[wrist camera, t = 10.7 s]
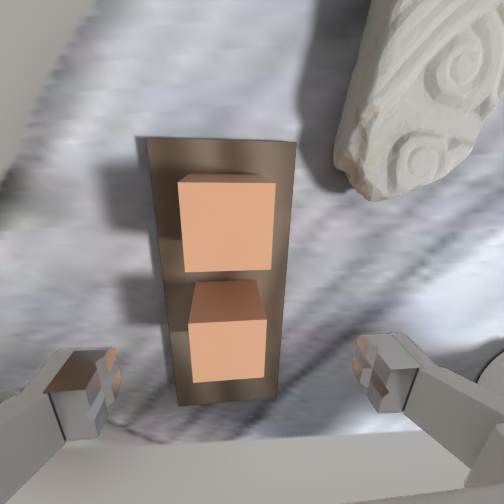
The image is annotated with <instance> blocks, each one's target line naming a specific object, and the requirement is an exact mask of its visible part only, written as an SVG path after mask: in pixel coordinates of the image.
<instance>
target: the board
mask: <svg viewBox="0 0 504 504" xmlns="http://www.w3.org/2000/svg"><path fill="white" fill-rule="evenodd" d="M146 141H147V150H148V158H149V166H150V175H151V183H152V191H153V199H154V208H155V216H156V224H157V233H158V241H159V249H160V257H161V266H162V274H163V282H164V291H165V299H166V307H167V316H168V324H169V332H170V340H171V349H172V357H173V365H174V374H175V382H176V390H177V399H178V406H189V405H201V404H212V403H223V402H234V401H245V400H256V399H268V398H276V396H277V383H278V371H279V358H280V346H281V333H282V321H283V308H284V296H285V283H286V271H287V258H288V245H289V233H290V220H291V208H292V195H293V183H294V170H295V158H296V145H297V142H282V141H247V140H212V139H177V138H146ZM190 173H192V174H261V175H262V176H264V177H266V178H268V179H269V180H271V181H273V182H274V183H276V187H275V206H274V224H273V242H272V260H271V270H244V271H211V272H185V265H184V253H183V241H182V229H181V217H180V205H179V193H178V182H179V181H180V180H182V179H183V178H184V177H186V176H187V175H188V174H190ZM237 280H256V281H257V285H258V289H259V292H260V296H261V300H262V303H263V307H264V310H265V314H266V318H267V329H266V348H265V367H264V377H261V378H248V379H236V380H223V381H210V382H198V383H193V375H192V364H191V352H190V340H189V329H188V321H189V316H190V311H191V305H192V300H193V295H194V289H195V284H196V282H208V281H237Z"/></svg>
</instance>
